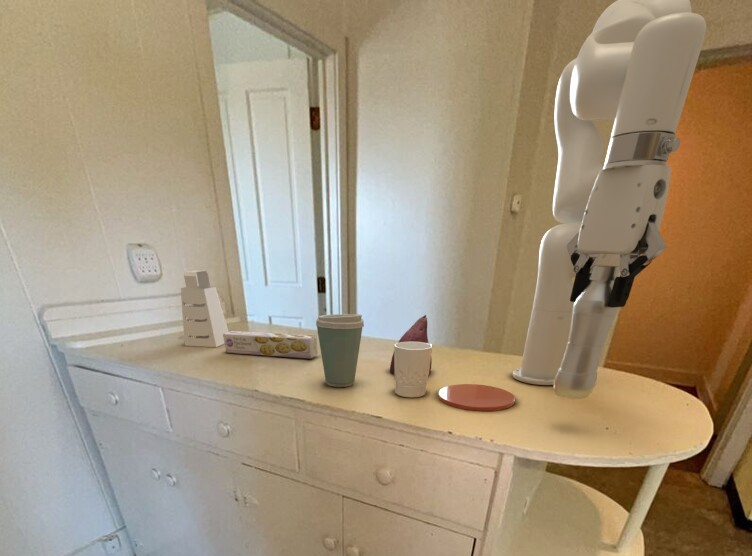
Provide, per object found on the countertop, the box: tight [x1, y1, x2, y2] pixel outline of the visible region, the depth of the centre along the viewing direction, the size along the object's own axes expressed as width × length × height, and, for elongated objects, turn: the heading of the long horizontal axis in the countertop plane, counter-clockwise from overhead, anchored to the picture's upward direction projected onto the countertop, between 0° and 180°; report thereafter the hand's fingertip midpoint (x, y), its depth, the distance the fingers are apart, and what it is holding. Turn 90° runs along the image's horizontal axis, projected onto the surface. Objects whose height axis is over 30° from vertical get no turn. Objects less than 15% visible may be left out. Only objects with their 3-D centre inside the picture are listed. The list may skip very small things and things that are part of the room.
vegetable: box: [389, 314, 433, 375], centre depth 106 cm, size 10×10×15 cm
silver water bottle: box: [552, 266, 620, 400], centre depth 69 cm, size 6×7×20 cm
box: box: [223, 330, 319, 360], centre depth 121 cm, size 27×5×6 cm, turn 73°
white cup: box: [393, 342, 433, 398], centre depth 91 cm, size 8×8×10 cm
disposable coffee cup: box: [315, 313, 365, 388], centre depth 95 cm, size 11×11×15 cm
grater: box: [180, 270, 230, 348], centre depth 130 cm, size 10×10×20 cm
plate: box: [437, 383, 516, 412], centre depth 91 cm, size 16×16×1 cm
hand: (596, 302), depth 66 cm, fingers closed on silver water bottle, 6 cm apart
